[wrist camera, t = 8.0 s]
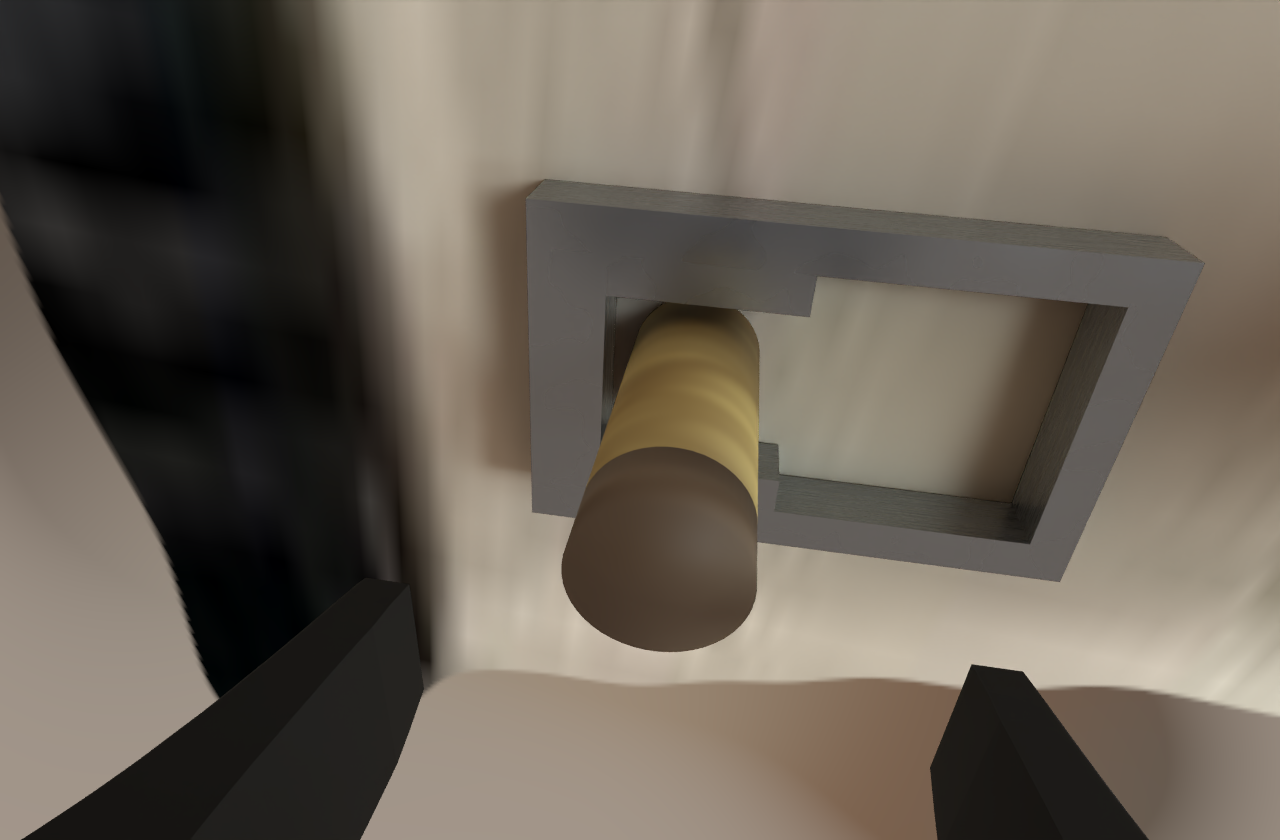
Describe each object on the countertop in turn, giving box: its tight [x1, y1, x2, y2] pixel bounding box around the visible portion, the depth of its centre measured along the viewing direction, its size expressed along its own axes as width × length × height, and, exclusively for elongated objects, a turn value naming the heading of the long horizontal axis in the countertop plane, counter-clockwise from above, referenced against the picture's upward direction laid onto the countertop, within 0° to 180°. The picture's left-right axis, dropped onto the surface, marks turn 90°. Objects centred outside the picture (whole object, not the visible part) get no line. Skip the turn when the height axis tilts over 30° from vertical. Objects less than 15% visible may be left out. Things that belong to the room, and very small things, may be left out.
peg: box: [562, 302, 759, 652], centre depth 15 cm, size 3×3×8 cm
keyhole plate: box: [526, 179, 1205, 582], centre depth 18 cm, size 13×8×2 cm, turn 87°
